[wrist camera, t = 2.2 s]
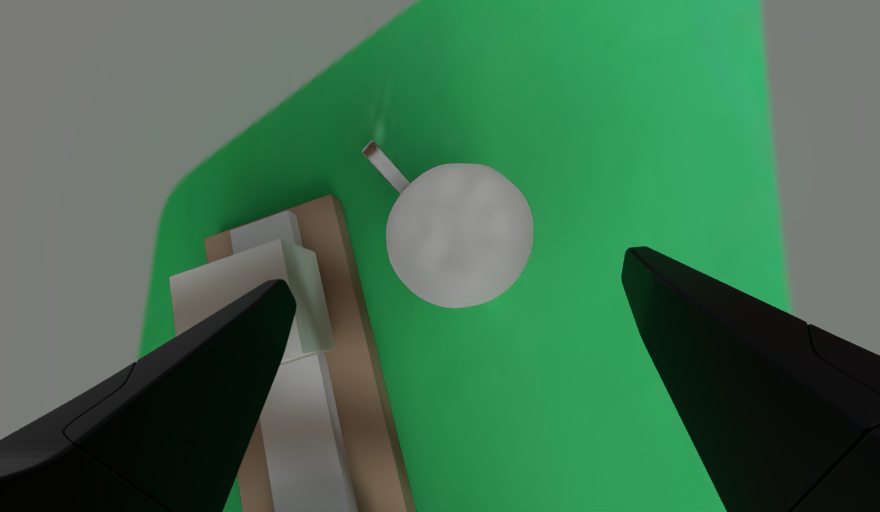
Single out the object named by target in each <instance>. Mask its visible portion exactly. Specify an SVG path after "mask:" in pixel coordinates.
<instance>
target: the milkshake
mask: <svg viewBox="0 0 880 512" xmlns="http://www.w3.org/2000/svg"><path fill="white" fill-rule="evenodd" d="M362 153H363V155H364V156H365V157H366V158H367V159H368V160H369V161H370V162H371V163H372V164H373V165H374V167H375V168H376V169H377V170H378V171H379V172H380V173H381V174H382V175H383V176H384V177H385V178H386V179H387V181H388V182H389V183H390V184H391V185H392V186H393V187H394V188H395V189H396V190H397V191H398V192H399V193H400V196H399V197H398V199H397V200H396V202H395V204H394V205H393V207H392V209H391V212H390V214H389V217H388V221H387V227H386V244H387V251H388V256H389V259H390V262H391V265H392V267H393V269H394V271H395V272H396V274H397V275H398V277H399V278H400V279H401V281H402V282H403V283H404V284H405V285H406V286H407V287H408V288H409V289H410V290H411V291H412V292H413V293H414V294H415V295H417V296H418V297H420V298H421V299H423V300H425V301H427V302H429V303H432V304H434V305H437V306H441V307H446V308H464V307H470V306H475V305H479V304H482V303H485V302H488V301H490V300H492V299H494V298H496V297H498V296H499V295H501V294H502V293H503V292H505V291H506V290H507V289H508V288H509V287H510V286H511V285H512V284H513V283H514V282H515V281H516V280H517V278H518V277H519V276H520V274H521V273H522V271H523V269H524V268H525V266H526V264H527V261H528V259H529V256H530V253H531V248H532V243H533V219H532V214H531V211H530V208H529V205H528V203H527V201H526V199H525V197H524V196H523V194H522V193H521V192H520V190H519V189H518V188H517V187H516V186H515V185H514V184H513V183H511V182H510V181H509V180H508V179H507V178H505V177H504V176H503V175H502V174H500V173H499V172H498V171H496V170H494V169H493V168H491V167H488V166H485V165H481V164H463V163H451V164H443V165H439V166H436V167H434V168H432V169H430V170H428V171H426V172H425V173H423V174H421V175H420V176H419V177H417V178H416V179H415V180H414V181H413V182H411V183H409V181H408V180H407V179H406V178H405V177H404V176H403V174H402V173H401V172H400V171H399V170H398V169H397V167H396V166H395V165H394V164H393V163H392V162H391V160H390V159H389V158H388V157H387V156H386V155H385V153H384V152H383V151H382V150H381V149H380V148H379V146H378V145H377V144H376V143H375V142H374V141H371V142H370V143H369V144H368V145H367V146H366V147H365V148H364V149H363V150H362Z"/></svg>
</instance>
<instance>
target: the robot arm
mask: <svg viewBox="0 0 880 512" xmlns="http://www.w3.org/2000/svg"><path fill="white" fill-rule="evenodd" d="M622 284H623V287H624V290H625V293H626V296H627V299H628V302H629V304H630V307H631V310H632V313H633V316H634V319H635V322H636V325H637V328H638V330H639V333H640V336H641V338H642V340H643V342H644V344H645V347H646V349H647V351H648V353H649V355H650V357H651V359H652V361H653V363H654V365H655V367H656V369H657V371H658V373H659V375H660V377H661V379H662V381H663V383H664V385H665V387H666V389H667V391H668V393H669V395H670V397H671V399H672V401H673V403H674V405H675V407H676V409H677V411H678V413H679V416H680V418H681V420H682V422H683V424H684V426H685V428H686V430H687V432H688V434H689V436H690V438H691V440H692V442H693V444H694V446H695V448H696V450H697V452H698V454H699V456H700V458H701V460H702V462H703V464H704V466H705V468H706V470H707V472H708V474H709V476H710V478H711V480H712V482H713V484H714V486H715V488H716V491H717V493H718V495H719V497H720V499H721V501H722V503H723V505H724V507H725V509H726V511H727V512H880V355H877V354H875V353H873V352H870V351H868V350H866V349H864V348H862V347H860V346H857V345H855V344H853V343H851V342H849V341H846V340H844V339H842V338H840V337H837V336H835V335H833V334H831V333H829V332H827V331H825V330H823V329H821V328H819V327H816V326H814V325H812V324H809V325H807V323H806V322H805V321H803V320H801V319H799V318H797V317H795V316H793V315H791V314H789V313H787V312H784V311H782V310H780V309H778V308H776V307H774V306H772V305H770V304H767V303H765V302H763V301H761V300H759V299H757V298H755V297H753V296H750V295H748V294H746V293H744V292H742V291H740V290H738V289H736V288H733V287H731V286H729V285H727V284H725V283H723V282H721V281H719V280H717V279H714V278H712V277H710V276H708V275H706V274H704V273H702V272H700V271H697V270H695V269H693V268H691V267H689V266H687V265H685V264H683V263H680V262H678V261H676V260H674V259H672V258H670V257H668V256H666V255H664V254H661V253H659V252H657V251H655V250H653V249H651V248H649V247H646V246H641V247H631V248H628V249H627V250H626V252H625V257H624V263H623V269H622ZM296 309H297V303H296V300H295V298H294V296H293V294H292V292H291V290H290V288H289V286H288V284H287V282H286V281H285V280H283V279H273V280H268V281H266V282H264V283H263V284H261V285H259V286H258V287H256V288H254V289H253V290H251V291H250V292H248V293H246V294H245V295H243V296H241V297H240V298H238V299H237V300H235V301H233V302H232V303H230V304H228V305H227V306H225V307H224V308H222V309H220V310H219V311H217V312H215V313H214V314H212V315H211V316H209V317H207V318H206V319H204V320H202V321H201V322H199V323H198V324H196V325H194V326H193V327H191V328H189V329H188V330H186V331H185V332H183V333H181V334H180V335H178V336H176V337H175V338H173V339H172V340H170V341H168V342H167V343H165V344H163V345H162V346H160V347H158V348H157V349H155V350H154V351H152V352H150V353H149V354H147V355H145V356H144V357H142V358H141V359H139V360H138V361H137V362H134V363H132V364H131V365H129V366H128V367H126V368H124V369H123V370H121V371H119V372H118V373H116V374H114V375H113V376H111V377H110V378H108V379H106V380H105V381H103V382H101V383H100V384H98V385H96V386H94V387H93V388H91V389H89V390H88V391H86V392H84V393H82V394H81V395H79V396H77V397H75V398H74V399H72V400H70V401H69V402H67V403H65V404H63V405H61V406H60V407H58V408H56V409H54V410H53V411H51V412H49V413H47V414H46V415H44V416H42V417H40V418H38V419H37V420H35V421H33V422H31V423H29V424H28V425H26V426H24V427H22V428H21V429H19V430H17V431H15V432H13V433H12V434H10V435H8V436H6V437H5V438H3V439H1V440H0V512H222V511H223V509H224V506H225V504H226V501H227V499H228V496H229V494H230V491H231V489H232V486H233V483H234V481H235V478H236V476H237V473H238V471H239V468H240V466H241V463H242V461H243V458H244V456H245V453H246V450H247V448H248V445H249V443H250V440H251V438H252V435H253V433H254V430H255V428H256V425H257V422H258V420H259V417H260V415H261V412H262V410H263V407H264V405H265V402H266V400H267V397H268V394H269V392H270V389H271V387H272V384H273V382H274V379H275V377H276V374H277V372H278V369H279V367H280V364H281V361H282V358H283V355H284V352H285V349H286V345H287V342H288V338H289V335H290V331H291V327H292V324H293V320H294V316H295V313H296Z"/></svg>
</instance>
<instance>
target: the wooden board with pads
mask: <svg viewBox="0 0 880 512" xmlns="http://www.w3.org/2000/svg"><path fill="white" fill-rule="evenodd" d="M204 242H205V249H206V256H207V263H208V264H206V265H203V266H200V267H197V268H194V269H191V270H188V271H185V272H182V273H180V274H177V275H174V276H171V277H169V279H170V288H171V297H172V306H173V314H174V323H175V332H176V336H178V335H180V334H181V333H183V332H185V331H186V330H188V329H189V328H191V327H193V326H194V325H196V324H198V323H199V322H201V321H202V320H204V319H206V318H207V317H209V316H211V315H212V314H214V313H215V312H217V311H219V310H220V309H222V308H224V307H225V306H227V305H228V304H230V303H232V302H233V301H235V300H237V299H238V298H240V297H241V296H243V295H245V294H246V293H248V292H250V291H251V290H253V289H254V288H256V287H258V286H259V285H261V284H263V283H264V282H266V281H268V280H273V279H283V280H285V281H286V282H287V284H288V286H289V288H290V290H291V292H292V294H293V296H294V298H295V300H296V303H297V309H296V313H295V316H294V320H293V324H292V327H291V331H290V335H289V338H288V342H287V345H286V349H285V352H284V355H283V358H282V361H281V364H280V367H279V369H278V372H277V374H276V377H275V379H274V382H273V384H272V387H271V389H270V392H269V394H268V397H267V400H266V402H265V405H264V407H263V410H262V412H261V415H260V417H259V420H258V422H257V425H256V428H255V430H254V433H253V435H252V438H251V440H250V443H249V445H248V448H247V450H246V453H245V456H244V458H243V461H242V463H241V466H240V468H239V471H238V473H237V474H238V481H239V489H240V496H241V503H242V510H243V512H416V509H415V505H414V501H413V497H412V493H411V489H410V485H409V481H408V477H407V472H406V468H405V464H404V460H403V456H402V452H401V448H400V444H399V439H398V435H397V431H396V427H395V423H394V419H393V415H392V411H391V407H390V402H389V398H388V394H387V390H386V386H385V382H384V378H383V374H382V370H381V365H380V361H379V357H378V353H377V349H376V345H375V341H374V337H373V332H372V328H371V324H370V320H369V316H368V312H367V308H366V304H365V300H364V295H363V291H362V287H361V283H360V279H359V275H358V271H357V267H356V262H355V258H354V254H353V250H352V246H351V242H350V238H349V234H348V230H347V225H346V221H345V217H344V213H343V209H342V205H341V201H340V200H339V199H337V198H336V197H335V196H334V195H332V194H329V195H326V196H323V197H320V198H317V199H315V200H312V201H309V202H306V203H303V204H300V205H298V206H295V207H292V208H289V209H286V210H284V211H281V212H278V213H275V214H272V215H269V216H267V217H264V218H261V219H258V220H255V221H253V222H250V223H247V224H244V225H241V226H238V227H236V228H233V229H230V230H227V231H224V232H222V233H219V234H216V235H213V236H210V237H207V238H205V239H204Z"/></svg>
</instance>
